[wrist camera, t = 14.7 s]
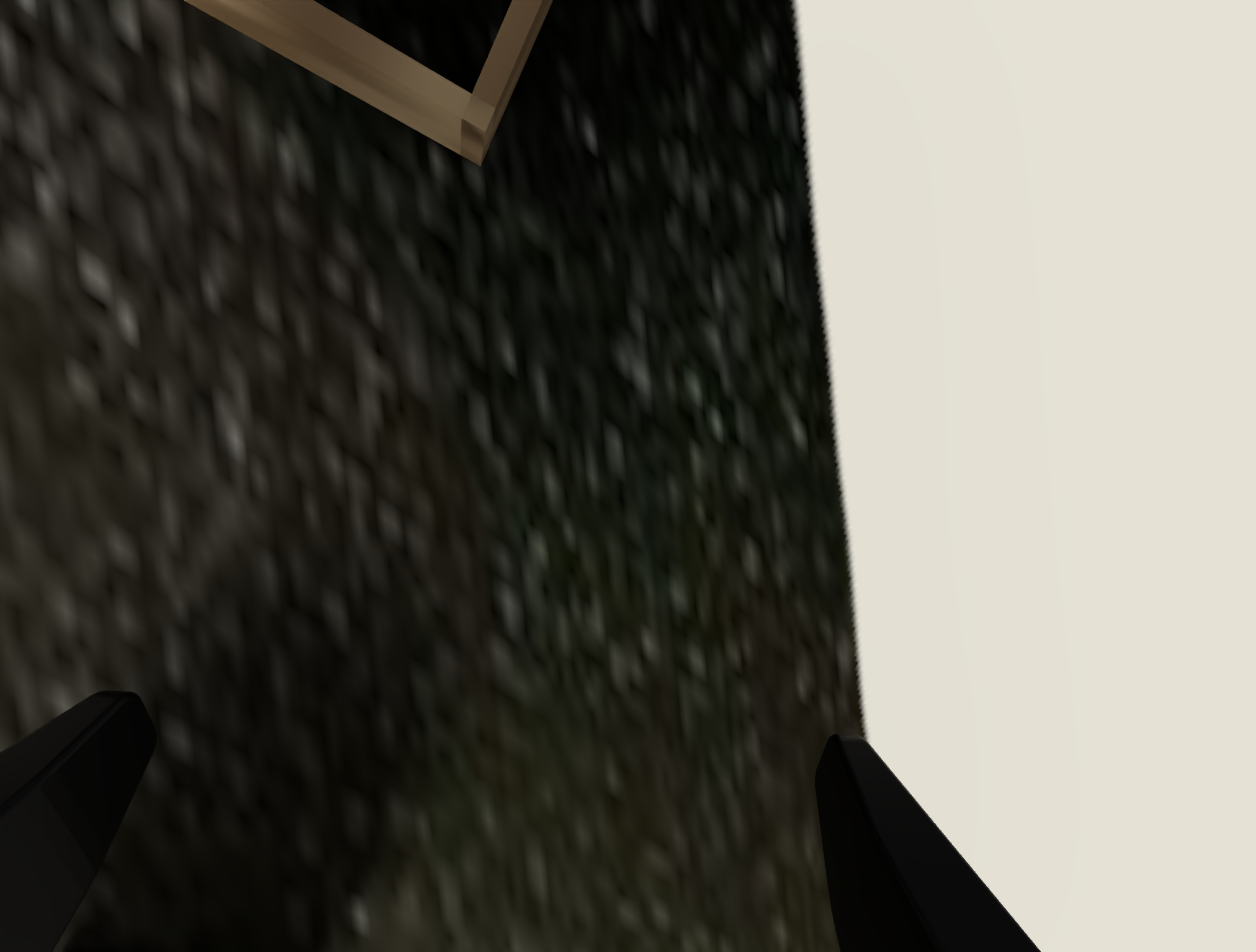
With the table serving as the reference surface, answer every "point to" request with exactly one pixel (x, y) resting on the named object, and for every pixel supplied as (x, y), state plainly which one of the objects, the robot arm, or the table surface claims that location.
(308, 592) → the table surface
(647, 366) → the table surface
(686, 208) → the table surface
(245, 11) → the oak collar
